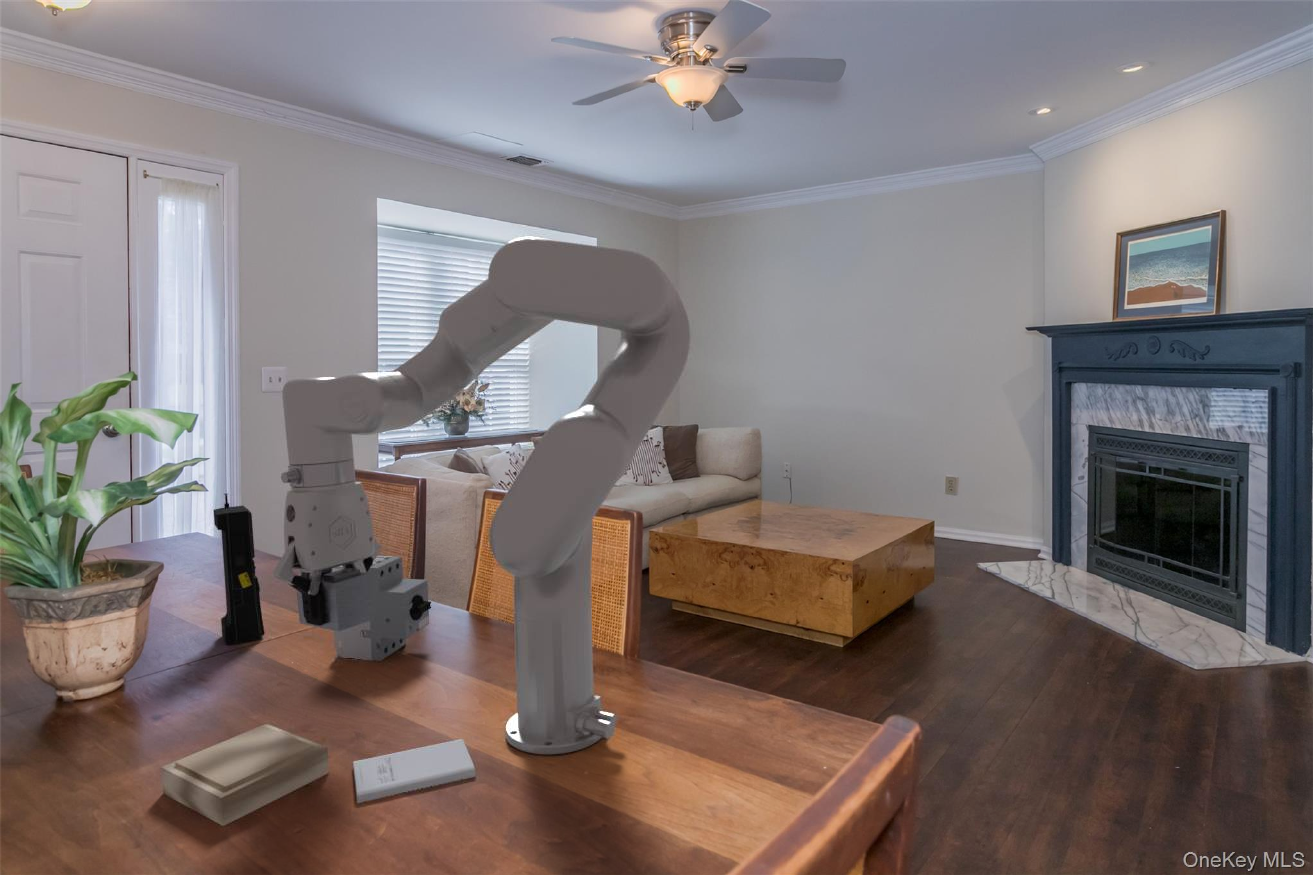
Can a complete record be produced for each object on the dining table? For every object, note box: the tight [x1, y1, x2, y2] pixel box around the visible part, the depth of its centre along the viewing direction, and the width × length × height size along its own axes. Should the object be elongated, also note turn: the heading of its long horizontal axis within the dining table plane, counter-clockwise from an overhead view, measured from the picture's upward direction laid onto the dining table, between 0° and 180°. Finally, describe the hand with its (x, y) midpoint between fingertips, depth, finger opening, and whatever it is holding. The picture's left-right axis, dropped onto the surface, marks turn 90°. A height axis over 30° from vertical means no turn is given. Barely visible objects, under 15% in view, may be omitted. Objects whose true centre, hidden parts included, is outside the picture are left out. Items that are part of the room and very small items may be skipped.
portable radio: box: [213, 493, 266, 645], centre depth 134 cm, size 8×6×25 cm
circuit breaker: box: [333, 555, 432, 662], centre depth 126 cm, size 8×14×15 cm, turn 79°
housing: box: [296, 568, 373, 632], centre depth 99 cm, size 8×5×7 cm, turn 58°
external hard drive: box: [352, 738, 476, 804], centre depth 88 cm, size 2×8×12 cm
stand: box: [160, 723, 330, 827], centre depth 86 cm, size 12×12×3 cm
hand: (335, 615), depth 99 cm, fingers closed on housing, 5 cm apart
